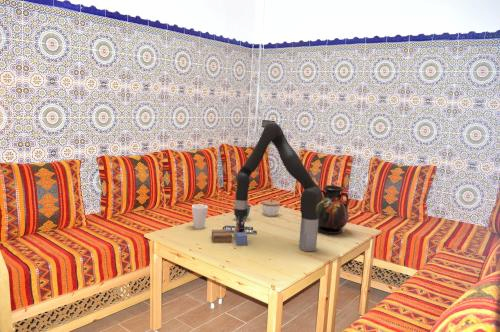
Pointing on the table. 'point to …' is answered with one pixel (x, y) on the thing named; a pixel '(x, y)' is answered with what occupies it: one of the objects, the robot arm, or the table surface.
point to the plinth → (221, 236)
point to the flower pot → (247, 212)
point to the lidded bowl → (270, 207)
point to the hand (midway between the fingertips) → (239, 235)
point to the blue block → (241, 238)
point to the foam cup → (199, 215)
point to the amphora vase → (332, 211)
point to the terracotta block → (237, 230)
